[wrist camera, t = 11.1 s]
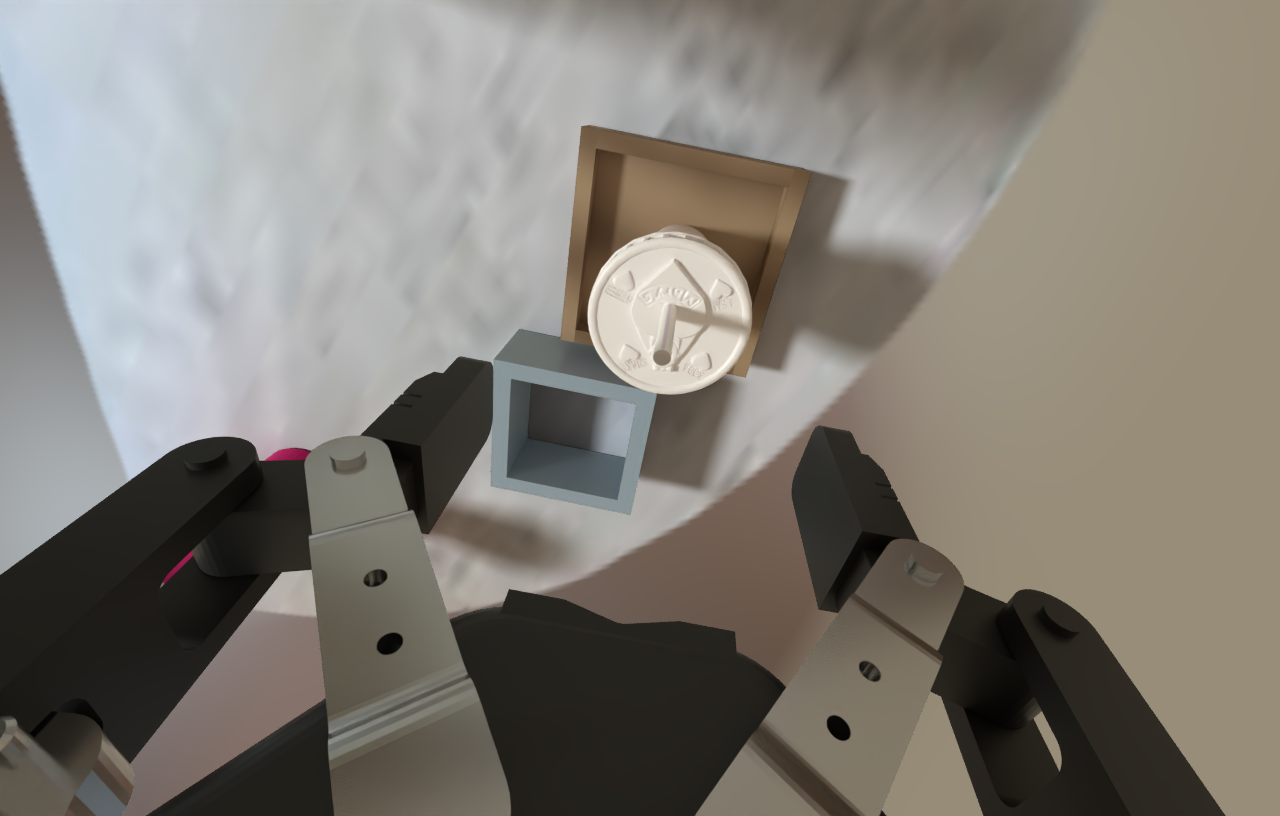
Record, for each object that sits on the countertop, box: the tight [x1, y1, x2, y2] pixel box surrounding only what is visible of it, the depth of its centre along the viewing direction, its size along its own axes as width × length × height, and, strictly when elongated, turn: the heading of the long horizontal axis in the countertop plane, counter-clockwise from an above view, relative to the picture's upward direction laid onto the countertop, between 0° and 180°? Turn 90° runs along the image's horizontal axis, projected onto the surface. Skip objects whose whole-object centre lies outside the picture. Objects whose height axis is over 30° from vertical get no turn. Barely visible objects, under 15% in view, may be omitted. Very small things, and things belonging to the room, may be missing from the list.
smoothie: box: [588, 224, 752, 394], centre depth 21 cm, size 6×6×14 cm
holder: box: [491, 329, 657, 515], centre depth 32 cm, size 9×9×4 cm
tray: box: [560, 125, 811, 377], centre depth 27 cm, size 11×11×2 cm
